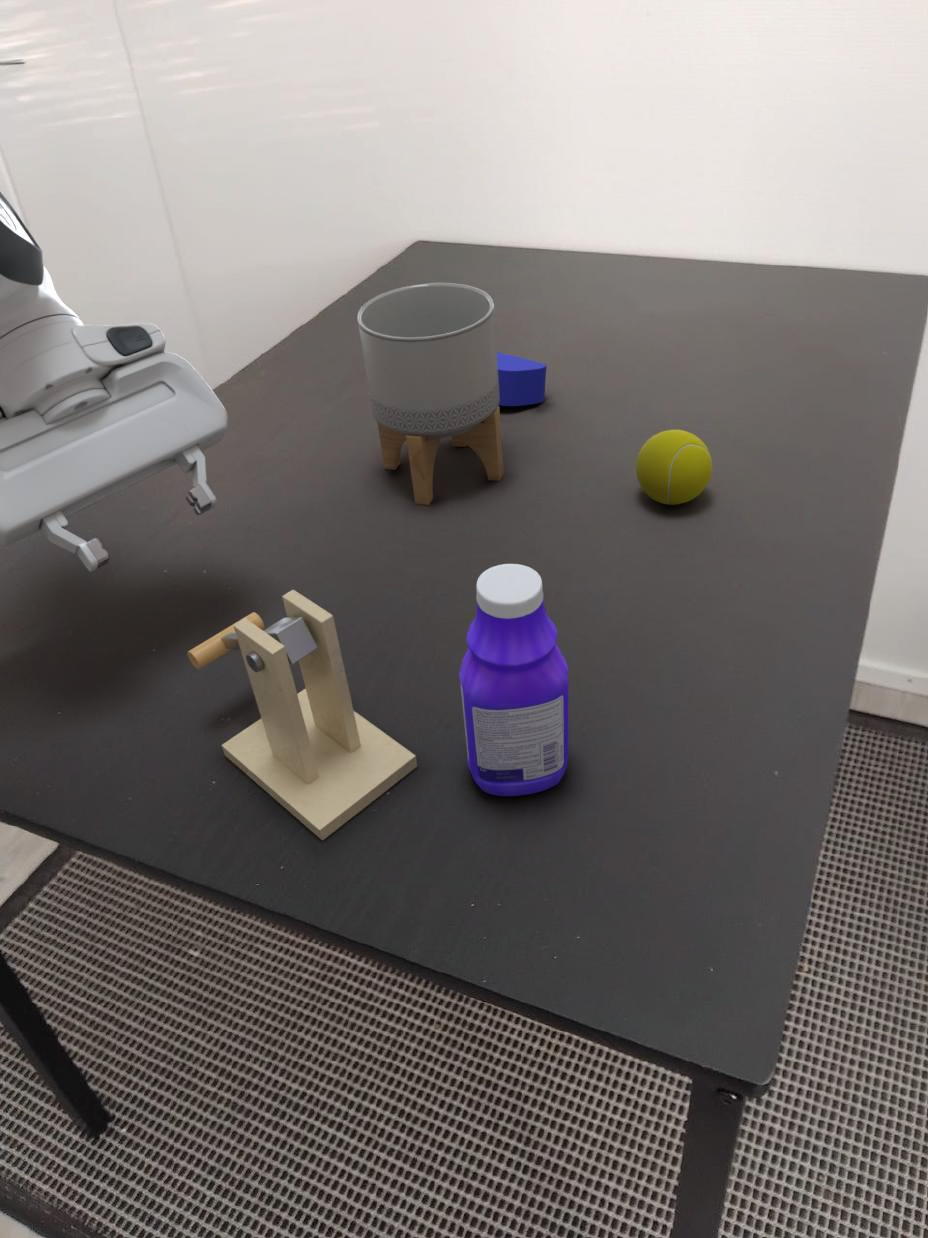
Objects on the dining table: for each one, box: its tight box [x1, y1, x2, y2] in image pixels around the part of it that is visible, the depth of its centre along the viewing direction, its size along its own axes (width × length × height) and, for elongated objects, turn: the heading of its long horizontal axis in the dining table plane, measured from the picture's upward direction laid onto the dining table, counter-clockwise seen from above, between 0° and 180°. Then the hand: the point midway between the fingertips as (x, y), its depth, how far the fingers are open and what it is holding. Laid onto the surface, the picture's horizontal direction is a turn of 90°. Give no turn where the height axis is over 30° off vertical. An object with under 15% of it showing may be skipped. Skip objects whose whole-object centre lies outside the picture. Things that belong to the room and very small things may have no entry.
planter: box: [356, 282, 504, 506], centre depth 98 cm, size 13×13×18 cm
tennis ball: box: [635, 429, 713, 506], centre depth 94 cm, size 7×7×7 cm
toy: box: [497, 351, 548, 407], centre depth 114 cm, size 12×6×10 cm
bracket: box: [221, 589, 418, 841], centre depth 69 cm, size 12×9×14 cm
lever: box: [187, 612, 318, 670], centre depth 70 cm, size 13×6×2 cm, turn 45°
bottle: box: [458, 563, 570, 797], centre depth 65 cm, size 7×6×17 cm
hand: (156, 536), depth 74 cm, fingers open, 8 cm apart
